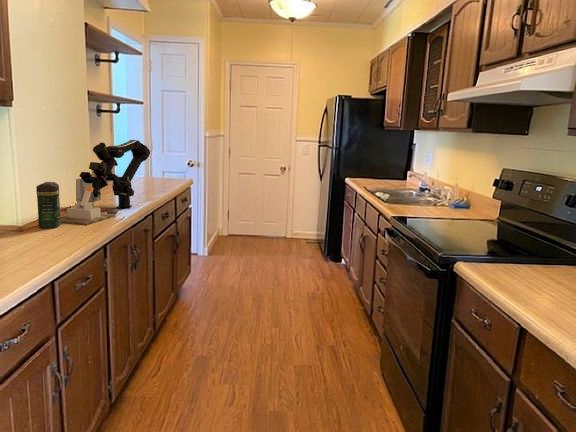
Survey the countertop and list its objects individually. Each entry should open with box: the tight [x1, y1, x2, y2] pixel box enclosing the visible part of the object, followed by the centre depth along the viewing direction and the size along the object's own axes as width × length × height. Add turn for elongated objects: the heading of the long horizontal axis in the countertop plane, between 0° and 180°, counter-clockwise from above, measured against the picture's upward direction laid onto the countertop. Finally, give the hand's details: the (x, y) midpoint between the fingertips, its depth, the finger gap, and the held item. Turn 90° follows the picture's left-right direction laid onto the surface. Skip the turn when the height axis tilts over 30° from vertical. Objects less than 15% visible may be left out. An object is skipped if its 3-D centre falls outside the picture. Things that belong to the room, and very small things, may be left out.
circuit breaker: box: [76, 178, 102, 207], centre depth 229 cm, size 8×14×15 cm, turn 78°
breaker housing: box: [66, 202, 102, 219], centre depth 203 cm, size 7×12×6 cm, turn 77°
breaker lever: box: [80, 186, 94, 208], centre depth 204 cm, size 2×3×10 cm, turn 77°
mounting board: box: [61, 212, 116, 226], centre depth 204 cm, size 20×18×1 cm
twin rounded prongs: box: [106, 208, 119, 215], centre depth 217 cm, size 7×12×2 cm, turn 77°
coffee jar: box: [35, 181, 62, 229], centre depth 186 cm, size 10×8×19 cm
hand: (92, 192), depth 208 cm, fingers closed
